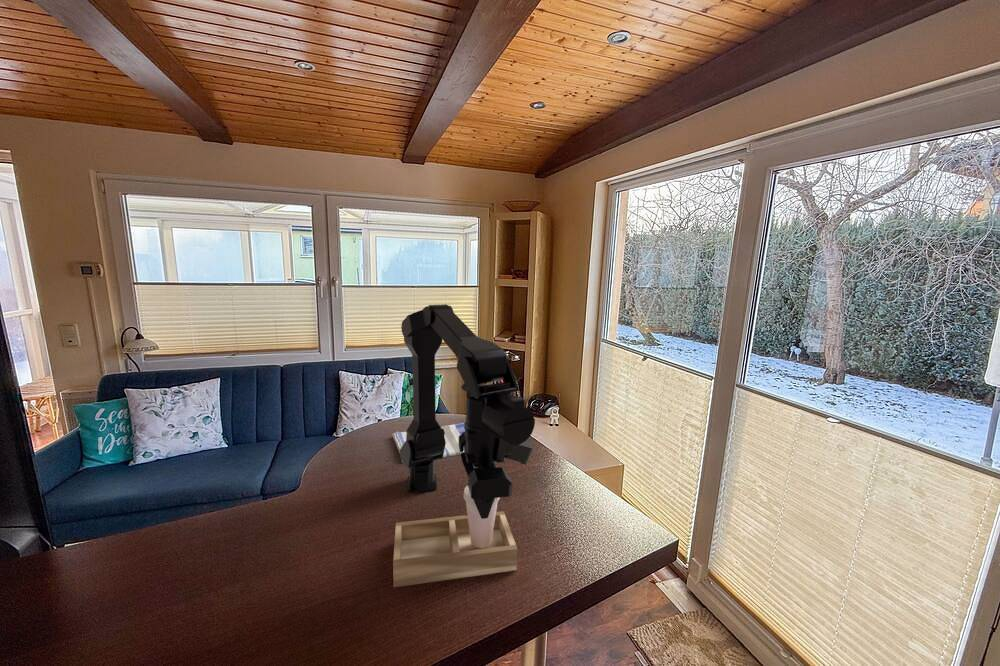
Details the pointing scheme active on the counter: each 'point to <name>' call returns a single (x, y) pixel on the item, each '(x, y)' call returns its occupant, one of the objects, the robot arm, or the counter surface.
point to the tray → (449, 550)
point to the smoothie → (479, 522)
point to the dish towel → (450, 437)
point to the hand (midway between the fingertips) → (481, 506)
